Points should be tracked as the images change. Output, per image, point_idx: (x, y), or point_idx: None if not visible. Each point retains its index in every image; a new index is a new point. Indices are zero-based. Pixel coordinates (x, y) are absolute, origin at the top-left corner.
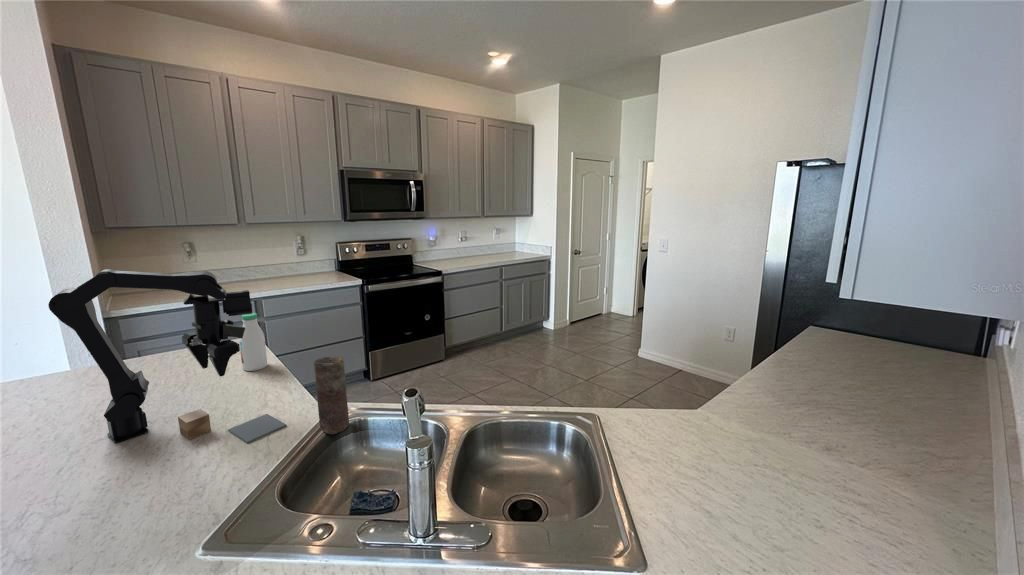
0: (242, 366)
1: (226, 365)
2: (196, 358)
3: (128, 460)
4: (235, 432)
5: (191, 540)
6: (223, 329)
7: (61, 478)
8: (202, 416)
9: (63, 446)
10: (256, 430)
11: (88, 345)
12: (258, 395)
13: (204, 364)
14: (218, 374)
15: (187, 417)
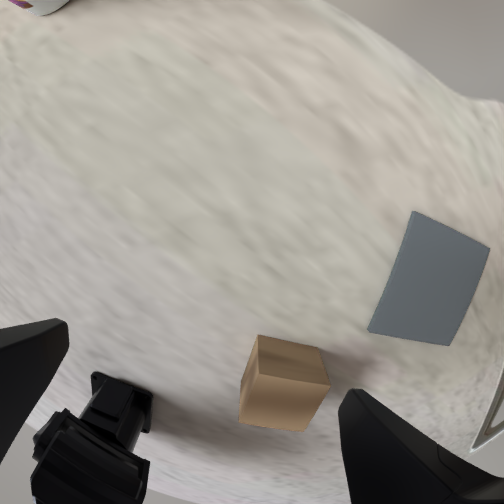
0: (33, 13)
1: (427, 444)
2: (16, 433)
3: (244, 455)
4: (401, 334)
5: (461, 452)
6: None
7: (198, 484)
8: (320, 399)
9: None
10: (445, 303)
11: None
12: (247, 85)
13: (49, 356)
14: (342, 429)
15: (275, 417)
